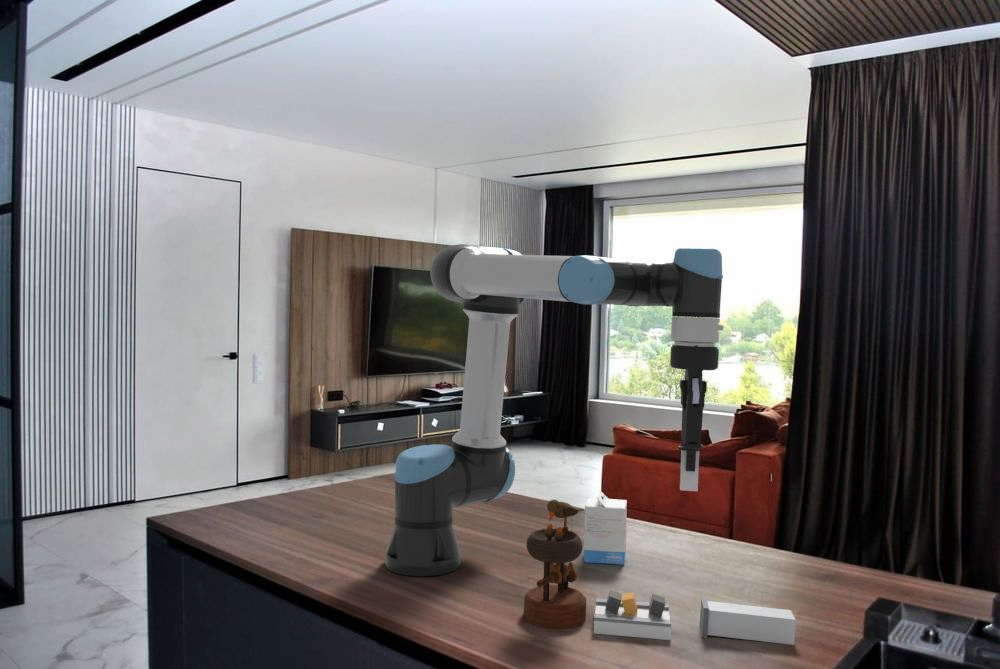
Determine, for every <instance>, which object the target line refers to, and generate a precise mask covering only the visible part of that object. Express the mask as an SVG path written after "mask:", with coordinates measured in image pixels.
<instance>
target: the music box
mask: <svg viewBox="0 0 1000 669" xmlns="http://www.w3.org/2000/svg"><path fill="white" fill-rule="evenodd" d="M546 505H547V506H546V509H547V510H548V513H549V514H548V515H549V518H548V519H549V522H551V521H552V519H553V518H554V517H556V518H558V519H563V526H559V527H558V528H557V527H556V528H553V524H552V523H550V524H547V525H546V528H543V529H542V528H541V529H537V530H535V531H533V532H531V533H530V534H529V535H528V537H527V540H526V549H527V552H528V554H529V555H530V556H531V557H532V558H533V559H534V560H537V561H538V562H542V563H543V578H542V579H539V580H538V581H536V586H535V587H532V588H531V589H529V590H528V591H527V592H526V593H525V594H524V596H523V617H524V619H525V620H526V621H527V623H530V624H532V625H534V626H537V627H540V628H545V629H553V630H555V629H556V630H559V629H561V630H563V629H572V628H576V627H578V626H581V625H583V624H584V622H585V621H586V619H587V597H586V596H585V595H584V594H583V593H582V592H581V591H580V590H578V589H576V588H573V587H570V586H569V583H574V582H576V581H577V579H578V573H577V571H576V568H575V566H574V563H573V561H575V560H577V559H578V558H579V557H580V556H581V554H582V552H583V548H584V546H583V545H584V544H583V540H582V539H581V537H580V536H579V534H577V533H576V532H574V531H573V520H574V519H573V517H574V516H575V515H577V514H579V512H582V511H583V512H585V508H581V507H577V506H576V507H575V506H573V505H572V504H570V503H568V502H565V501H559V500H557V499H551V500H549V501H548V503H547V504H546ZM569 517H570V518H571V519H570V522H571V528H570V530H569V527H568V525H567V524H568V518H569ZM565 563H568V564H565ZM555 584H556V585H555Z"/></svg>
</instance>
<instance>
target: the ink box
mask: <svg viewBox="0 0 1000 669" xmlns="http://www.w3.org/2000/svg"><path fill="white" fill-rule="evenodd" d="M627 504H628V500H627V499H617V498H616V499H614V498H608V496H606V495H605V494H604V492H602V491H601V490H600V491H599V492H598V495H597V497H596V498H595V497H588V499H587V501H586V503H585V506H584V541H583V542H584V543H583V545H584V546H583V548H584V549H583V550H584V551H583V561H584V563H588V564H589V563H590V564H591V563H592V564H608V565H609V564H610V565H623V566H624V565H625V563H626V562H625V561H626V556H627V521H628V520H627V519H628V518H627V512H628V510H627V508H628V506H627Z"/></svg>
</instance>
